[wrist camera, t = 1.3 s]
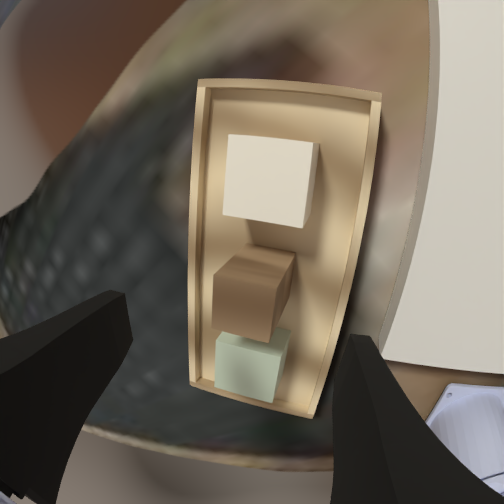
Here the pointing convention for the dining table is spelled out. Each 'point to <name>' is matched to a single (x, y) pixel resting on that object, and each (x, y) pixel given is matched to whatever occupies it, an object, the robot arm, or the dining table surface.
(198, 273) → the tan open box
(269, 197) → the off-white square block
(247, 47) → the dining table surface
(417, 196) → the dock
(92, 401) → the robot arm
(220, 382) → the pale green block
